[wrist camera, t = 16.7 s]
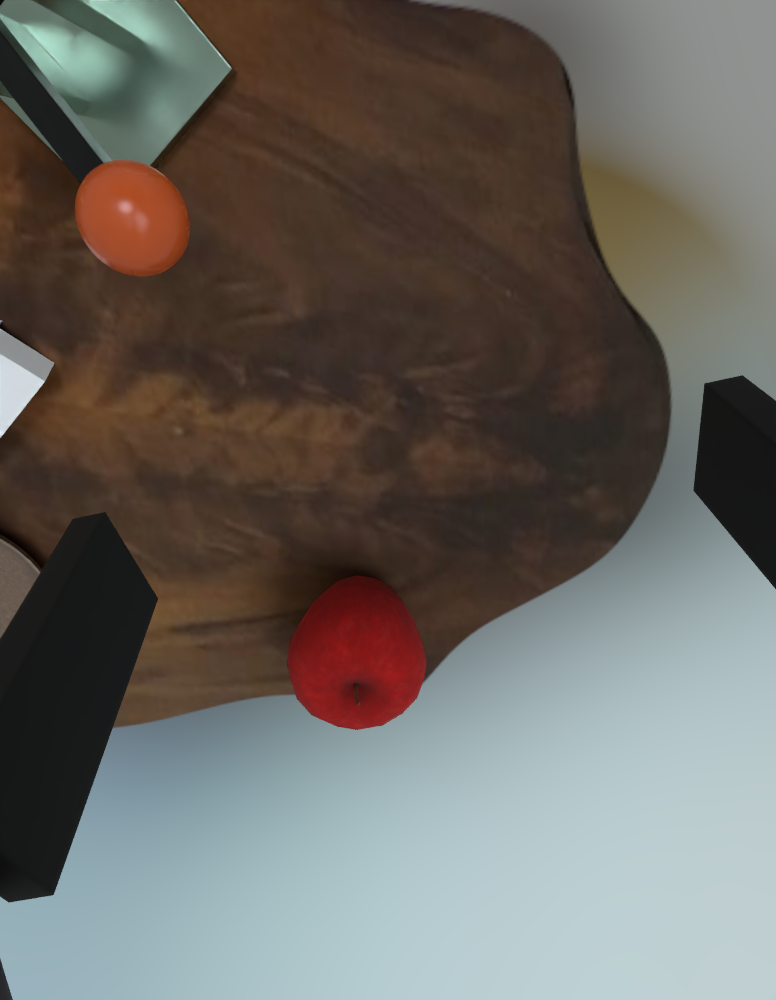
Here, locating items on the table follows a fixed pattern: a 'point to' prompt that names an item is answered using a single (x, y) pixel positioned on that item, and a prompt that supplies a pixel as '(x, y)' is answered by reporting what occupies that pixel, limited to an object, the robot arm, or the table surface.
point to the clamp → (121, 69)
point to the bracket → (18, 377)
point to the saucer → (14, 579)
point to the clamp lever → (101, 178)
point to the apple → (357, 655)
